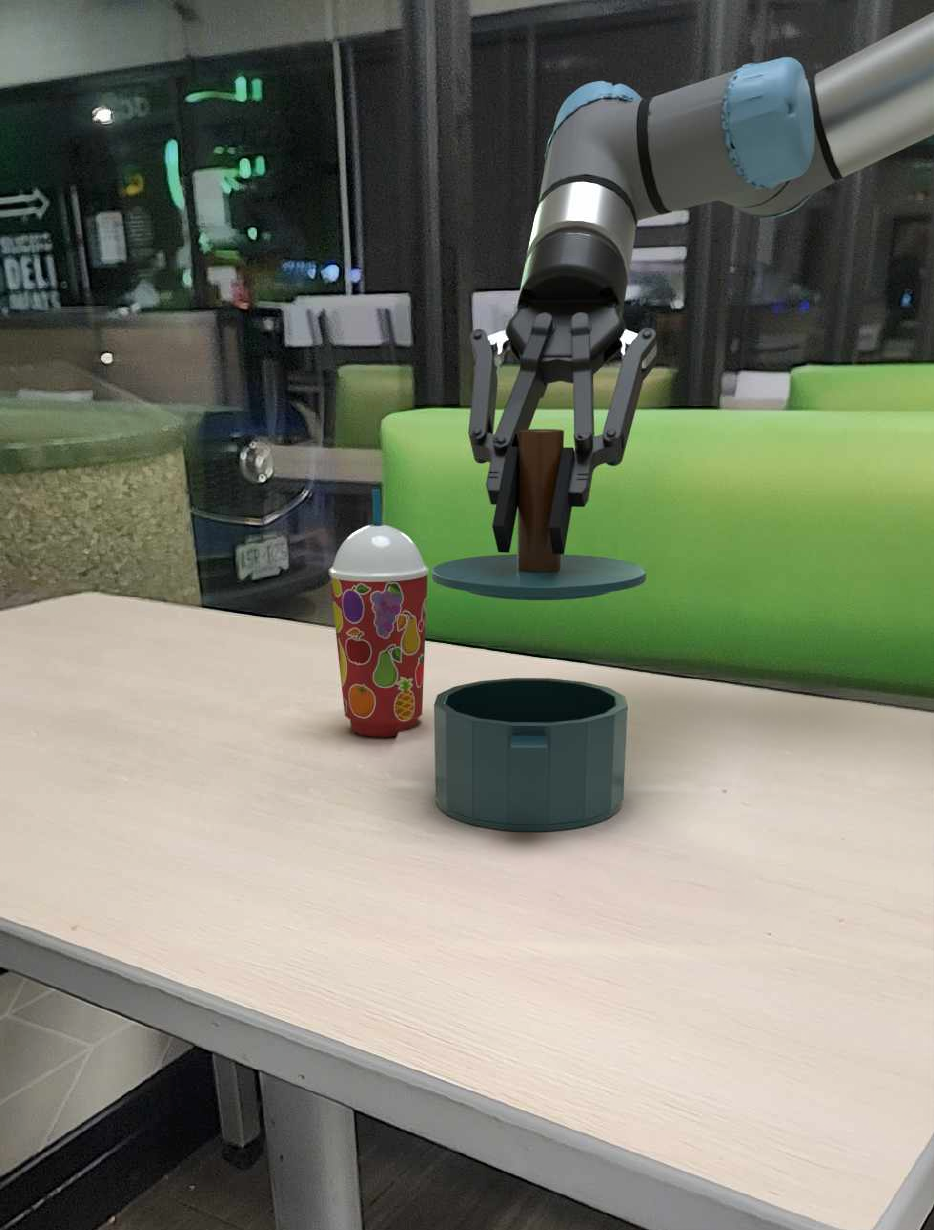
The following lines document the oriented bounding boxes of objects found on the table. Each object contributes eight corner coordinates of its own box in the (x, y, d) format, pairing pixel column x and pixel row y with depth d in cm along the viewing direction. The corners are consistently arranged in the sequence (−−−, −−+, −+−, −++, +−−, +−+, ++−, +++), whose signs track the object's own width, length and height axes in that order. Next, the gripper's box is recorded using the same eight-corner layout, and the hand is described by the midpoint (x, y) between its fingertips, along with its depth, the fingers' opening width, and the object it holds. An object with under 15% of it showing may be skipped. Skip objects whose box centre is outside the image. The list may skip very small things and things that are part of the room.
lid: (638, 570, 94) (646, 424, 90) (652, 606, 81) (662, 436, 77) (441, 569, 95) (439, 424, 91) (422, 604, 82) (419, 436, 78)
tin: (615, 763, 101) (619, 670, 98) (629, 847, 84) (634, 737, 81) (446, 761, 102) (445, 668, 99) (425, 844, 85) (423, 735, 82)
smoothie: (416, 713, 116) (411, 483, 108) (443, 736, 109) (440, 492, 101) (327, 721, 113) (315, 487, 105) (349, 745, 106) (337, 496, 98)
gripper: (689, 312, 93) (652, 579, 85) (476, 315, 96) (422, 571, 88) (688, 223, 86) (648, 504, 78) (459, 230, 89) (398, 499, 81)
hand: (528, 539), depth 83 cm, fingers closed on lid, 3 cm apart
